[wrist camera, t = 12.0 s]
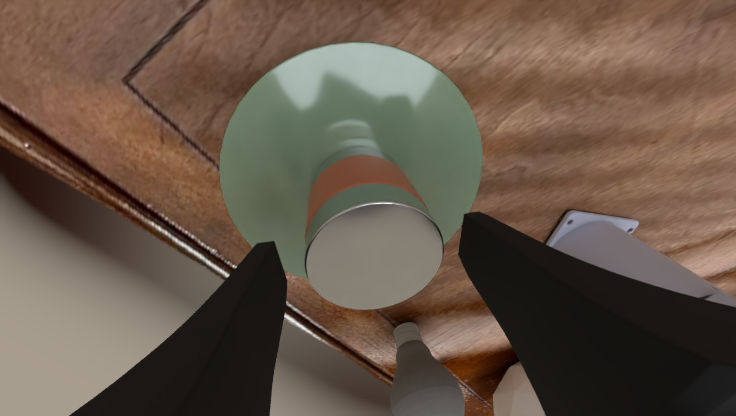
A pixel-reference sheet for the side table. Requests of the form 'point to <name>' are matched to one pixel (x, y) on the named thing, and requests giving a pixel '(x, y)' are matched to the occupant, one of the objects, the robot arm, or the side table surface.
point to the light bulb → (422, 379)
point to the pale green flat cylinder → (345, 138)
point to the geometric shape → (516, 395)
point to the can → (368, 232)
